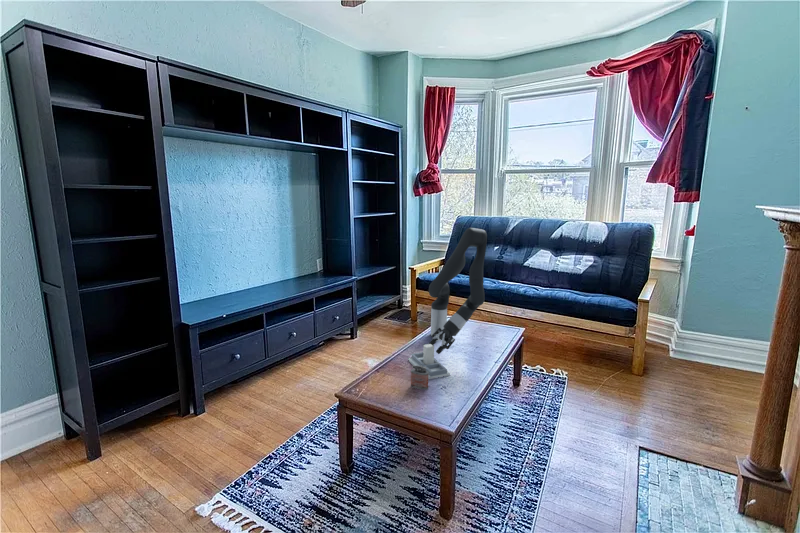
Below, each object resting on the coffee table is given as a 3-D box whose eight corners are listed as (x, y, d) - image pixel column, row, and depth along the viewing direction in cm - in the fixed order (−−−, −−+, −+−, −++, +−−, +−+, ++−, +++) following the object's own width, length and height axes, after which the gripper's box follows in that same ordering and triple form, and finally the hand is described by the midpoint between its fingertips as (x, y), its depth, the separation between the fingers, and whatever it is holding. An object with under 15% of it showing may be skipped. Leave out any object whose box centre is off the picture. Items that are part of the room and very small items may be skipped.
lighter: (429, 386, 170) (429, 365, 169) (427, 390, 167) (427, 368, 165) (411, 383, 173) (412, 362, 171) (409, 387, 170) (409, 366, 168)
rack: (408, 360, 197) (408, 354, 196) (429, 356, 201) (429, 351, 201) (427, 379, 177) (427, 373, 176) (450, 375, 181) (450, 368, 181)
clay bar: (423, 364, 190) (423, 345, 188) (430, 363, 191) (430, 343, 189) (426, 367, 187) (426, 347, 185) (433, 365, 188) (434, 346, 186)
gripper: (443, 315, 196) (422, 339, 194) (457, 324, 182) (434, 350, 181) (452, 324, 198) (431, 348, 197) (466, 333, 185) (444, 359, 184)
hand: (433, 349), depth 189 cm, fingers open, 8 cm apart
